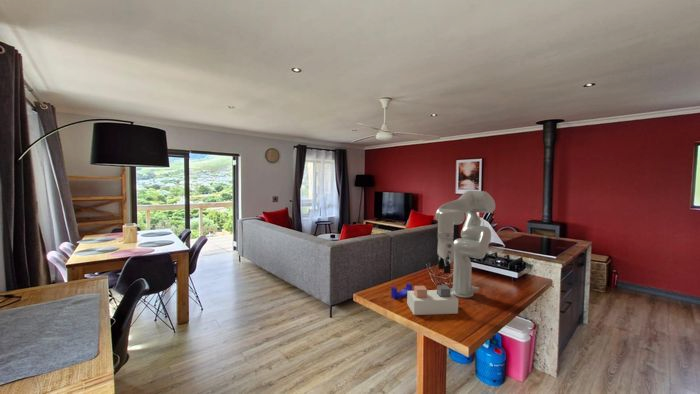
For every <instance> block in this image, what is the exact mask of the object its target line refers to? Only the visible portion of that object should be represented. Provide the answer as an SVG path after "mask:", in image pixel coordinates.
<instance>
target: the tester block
mask: <svg viewBox="0 0 700 394" xmlns="http://www.w3.org/2000/svg"><path fill="white" fill-rule="evenodd" d="M406 299H407V300H406V305H407V306H408V308H409V309H410V311H411V312H412V314H413V315H414V316H420V315H421V316H422V315H424V316H425V315H426V316H427V315H449V314H451V315H452V314H453V315H454V314H459V299H458V298H457V296H455V295H453V294H452V293H451V294H450V297H440V296H439V295H438V294H437V289H431V290H430V289H427V298H416V296H415V295H414V290H412V291H407V296H406Z"/></svg>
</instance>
